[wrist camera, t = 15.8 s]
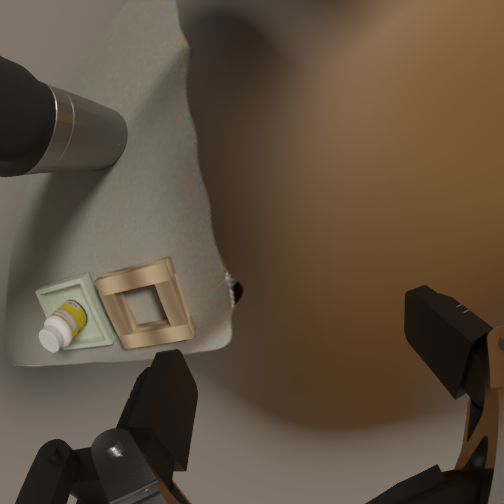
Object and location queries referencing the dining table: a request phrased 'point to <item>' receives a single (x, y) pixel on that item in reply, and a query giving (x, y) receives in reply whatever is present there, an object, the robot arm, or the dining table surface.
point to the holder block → (170, 296)
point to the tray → (85, 292)
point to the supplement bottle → (63, 325)
